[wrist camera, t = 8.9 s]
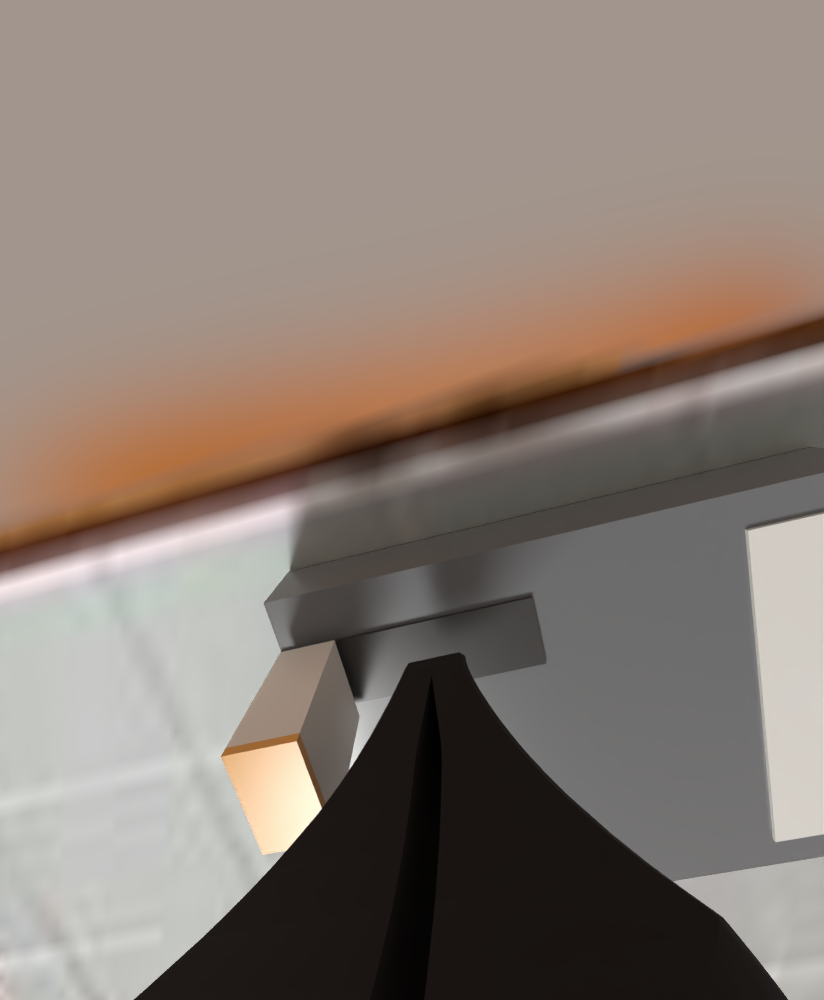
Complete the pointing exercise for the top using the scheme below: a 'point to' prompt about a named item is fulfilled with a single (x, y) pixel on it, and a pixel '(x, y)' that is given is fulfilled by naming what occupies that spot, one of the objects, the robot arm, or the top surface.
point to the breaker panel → (622, 652)
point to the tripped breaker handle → (293, 744)
